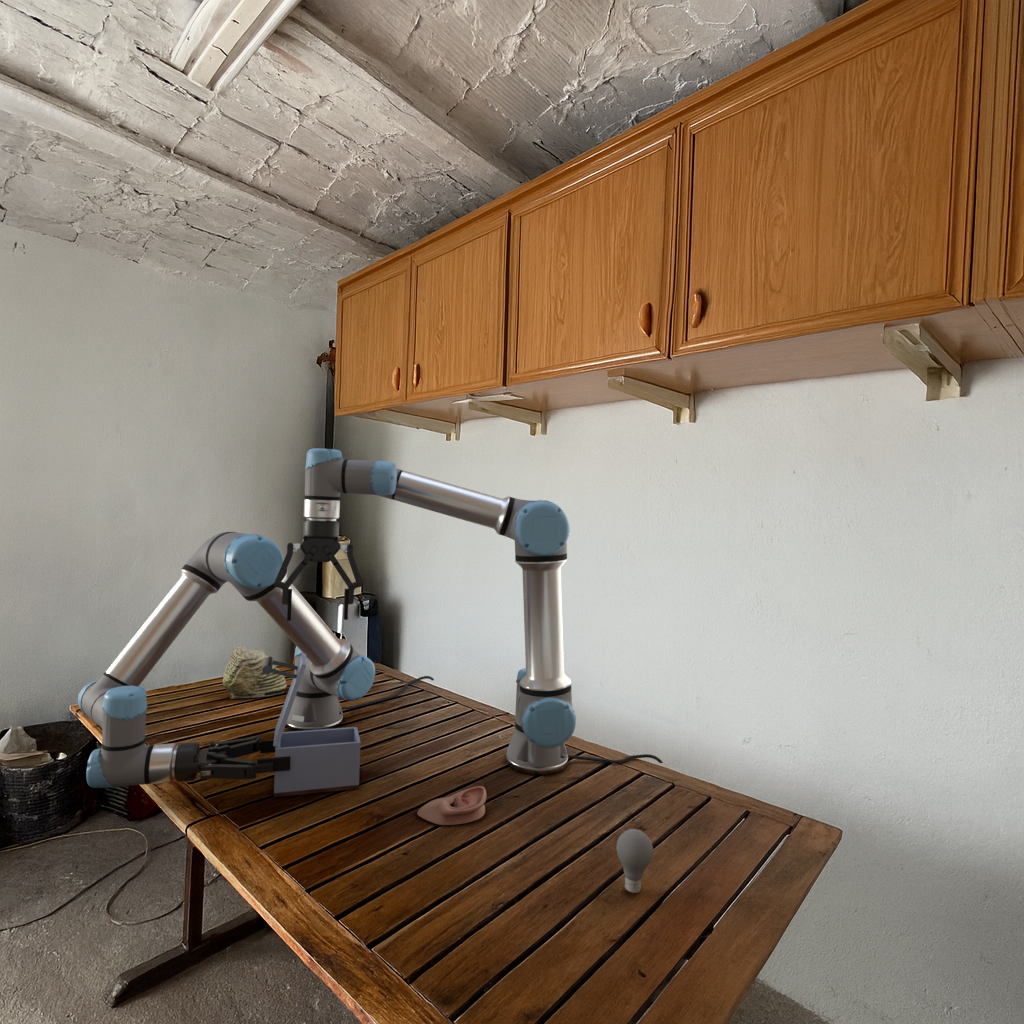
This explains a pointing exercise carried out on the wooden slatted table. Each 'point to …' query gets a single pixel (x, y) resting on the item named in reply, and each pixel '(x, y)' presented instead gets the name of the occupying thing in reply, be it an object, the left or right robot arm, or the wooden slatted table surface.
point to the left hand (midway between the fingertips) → (290, 753)
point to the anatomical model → (456, 807)
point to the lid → (291, 693)
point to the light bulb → (634, 857)
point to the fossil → (251, 675)
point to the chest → (318, 761)
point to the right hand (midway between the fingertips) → (317, 619)
